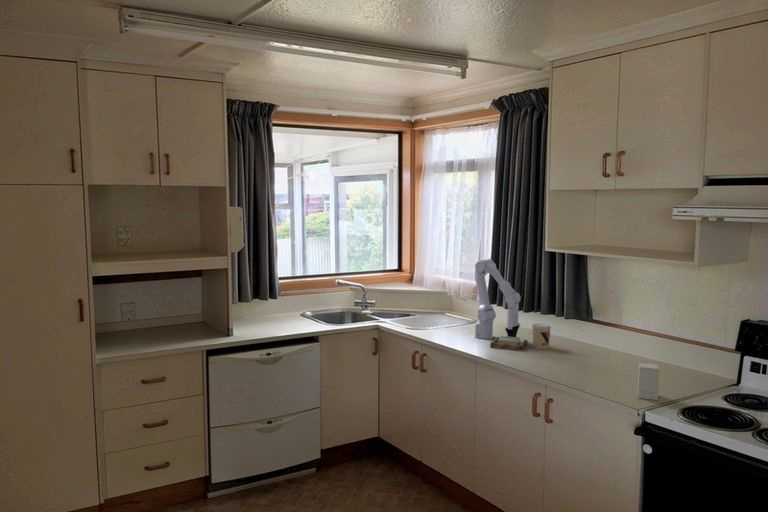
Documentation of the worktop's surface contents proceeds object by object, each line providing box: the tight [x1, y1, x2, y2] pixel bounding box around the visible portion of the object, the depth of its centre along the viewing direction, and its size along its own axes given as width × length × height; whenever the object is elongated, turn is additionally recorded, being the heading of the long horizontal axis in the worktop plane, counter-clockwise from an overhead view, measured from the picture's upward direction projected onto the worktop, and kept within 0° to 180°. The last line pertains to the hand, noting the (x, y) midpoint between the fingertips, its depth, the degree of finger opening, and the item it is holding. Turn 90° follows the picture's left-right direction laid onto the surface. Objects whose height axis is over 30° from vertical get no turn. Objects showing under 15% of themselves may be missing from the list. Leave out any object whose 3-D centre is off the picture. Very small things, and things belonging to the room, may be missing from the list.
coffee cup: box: [532, 323, 552, 350], centre depth 320 cm, size 9×9×12 cm
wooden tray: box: [489, 336, 528, 351], centre depth 323 cm, size 16×15×2 cm
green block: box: [498, 335, 521, 345], centre depth 322 cm, size 10×8×4 cm
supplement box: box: [636, 362, 660, 401], centre depth 241 cm, size 7×7×13 cm
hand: (512, 339), depth 330 cm, fingers open, 7 cm apart
